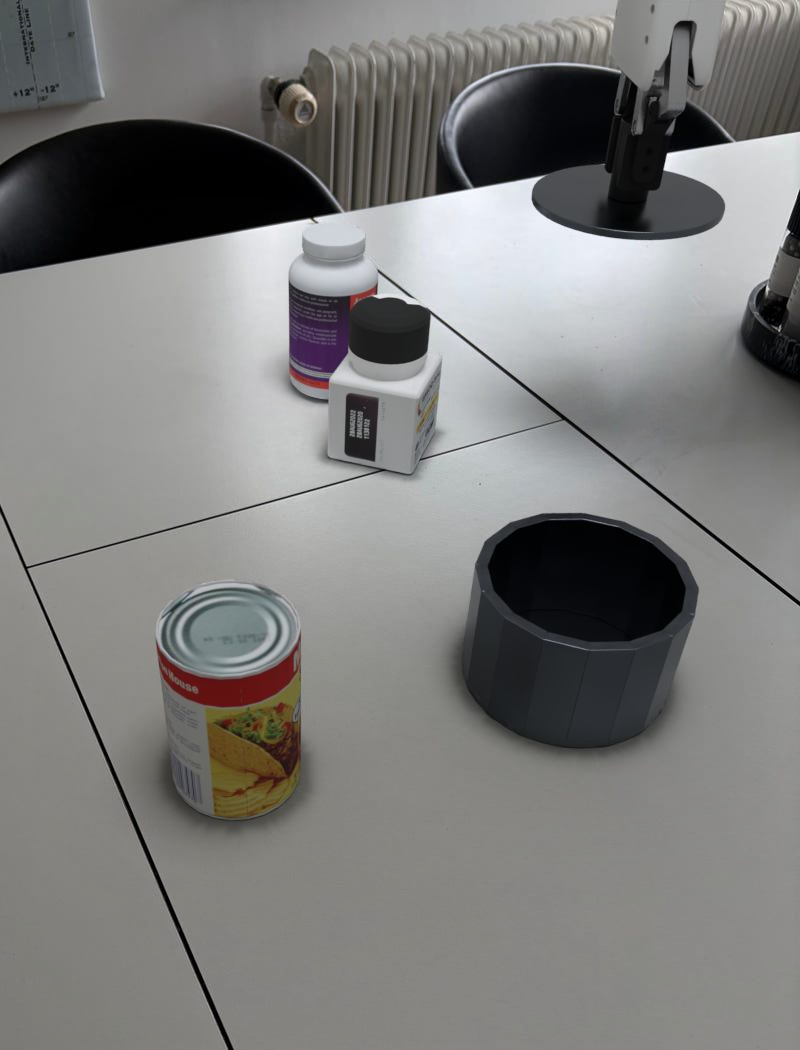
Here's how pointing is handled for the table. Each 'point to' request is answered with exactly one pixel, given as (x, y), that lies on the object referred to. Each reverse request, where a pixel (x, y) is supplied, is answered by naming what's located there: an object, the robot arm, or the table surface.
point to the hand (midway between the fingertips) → (631, 178)
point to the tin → (576, 627)
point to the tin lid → (627, 202)
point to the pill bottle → (325, 301)
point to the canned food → (232, 696)
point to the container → (385, 386)
